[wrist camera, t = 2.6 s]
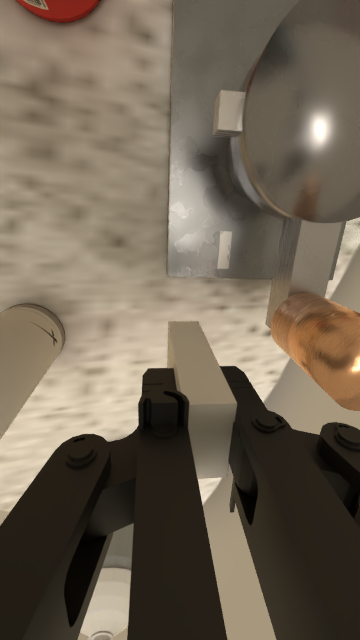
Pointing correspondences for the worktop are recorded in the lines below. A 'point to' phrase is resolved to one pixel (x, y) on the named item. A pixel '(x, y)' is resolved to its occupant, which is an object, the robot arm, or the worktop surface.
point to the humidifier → (111, 590)
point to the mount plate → (216, 143)
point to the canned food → (60, 9)
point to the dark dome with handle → (305, 178)
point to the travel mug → (25, 355)
